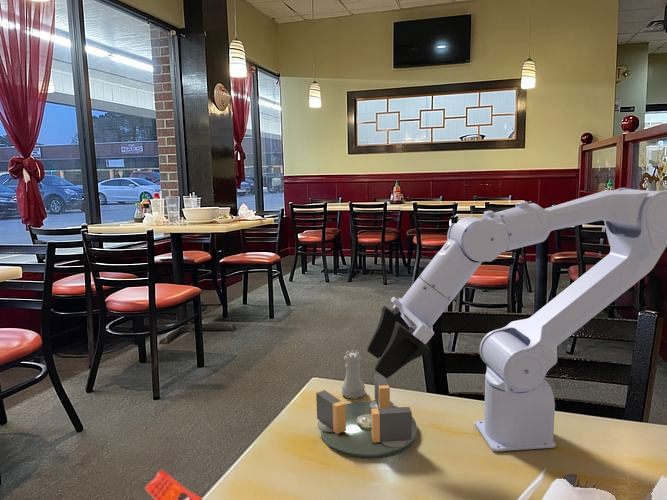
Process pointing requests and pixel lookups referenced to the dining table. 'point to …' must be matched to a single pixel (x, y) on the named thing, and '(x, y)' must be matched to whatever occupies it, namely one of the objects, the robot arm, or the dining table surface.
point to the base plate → (361, 435)
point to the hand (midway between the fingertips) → (376, 363)
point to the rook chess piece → (353, 376)
